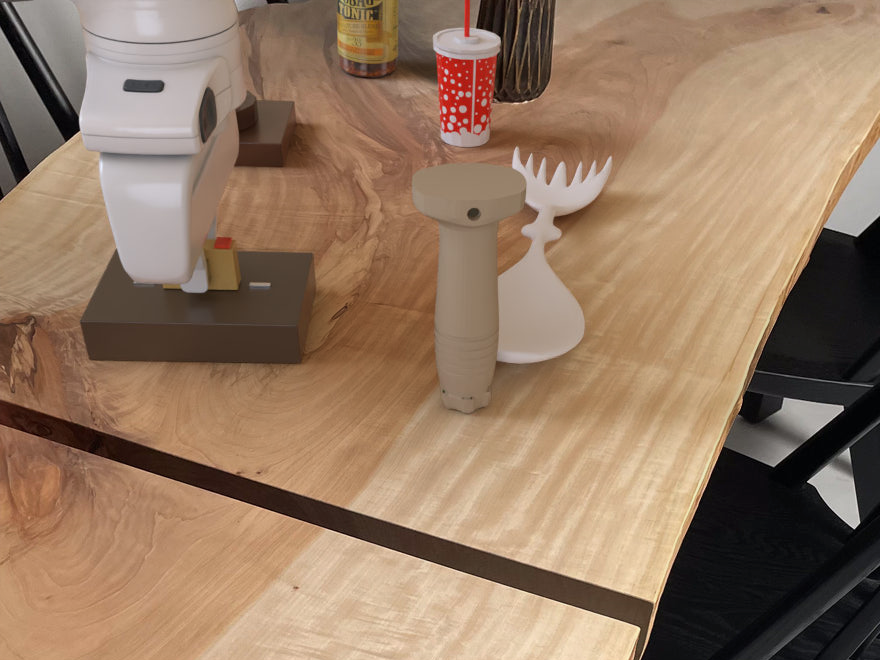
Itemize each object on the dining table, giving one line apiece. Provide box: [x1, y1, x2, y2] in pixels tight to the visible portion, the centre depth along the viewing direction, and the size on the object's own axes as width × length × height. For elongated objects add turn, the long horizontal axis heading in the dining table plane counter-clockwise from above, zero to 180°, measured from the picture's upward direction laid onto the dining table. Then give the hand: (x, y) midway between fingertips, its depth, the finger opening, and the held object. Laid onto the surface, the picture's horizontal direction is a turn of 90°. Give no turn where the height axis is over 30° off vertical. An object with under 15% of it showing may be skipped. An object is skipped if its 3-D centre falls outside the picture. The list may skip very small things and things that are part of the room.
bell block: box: [234, 89, 297, 168], centre depth 99 cm, size 12×10×4 cm
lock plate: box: [79, 247, 317, 364], centre depth 76 cm, size 14×10×3 cm
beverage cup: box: [432, 0, 502, 148], centre depth 99 cm, size 6×6×14 cm
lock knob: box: [163, 236, 241, 290], centre depth 74 cm, size 5×2×3 cm, turn 92°
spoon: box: [496, 145, 613, 364], centre depth 84 cm, size 9×32×3 cm, turn 172°
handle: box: [411, 162, 527, 414], centre depth 66 cm, size 5×6×15 cm
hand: (200, 276), depth 75 cm, fingers closed on lock knob
